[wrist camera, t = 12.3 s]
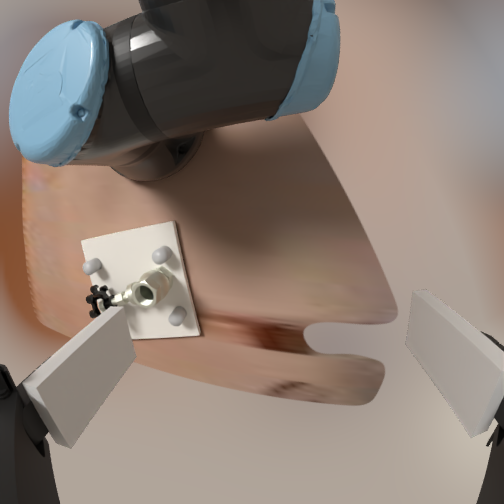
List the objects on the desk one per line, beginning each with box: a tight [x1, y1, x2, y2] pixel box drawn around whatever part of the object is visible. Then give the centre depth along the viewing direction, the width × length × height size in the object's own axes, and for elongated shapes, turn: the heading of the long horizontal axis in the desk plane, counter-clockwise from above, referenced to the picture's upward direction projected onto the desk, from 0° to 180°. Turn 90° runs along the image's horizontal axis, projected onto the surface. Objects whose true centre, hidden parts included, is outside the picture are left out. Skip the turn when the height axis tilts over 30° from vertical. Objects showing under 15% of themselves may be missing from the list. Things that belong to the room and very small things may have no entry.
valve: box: [86, 266, 173, 318], centre depth 37 cm, size 7×7×12 cm
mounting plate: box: [81, 221, 201, 339], centre depth 40 cm, size 17×16×4 cm
